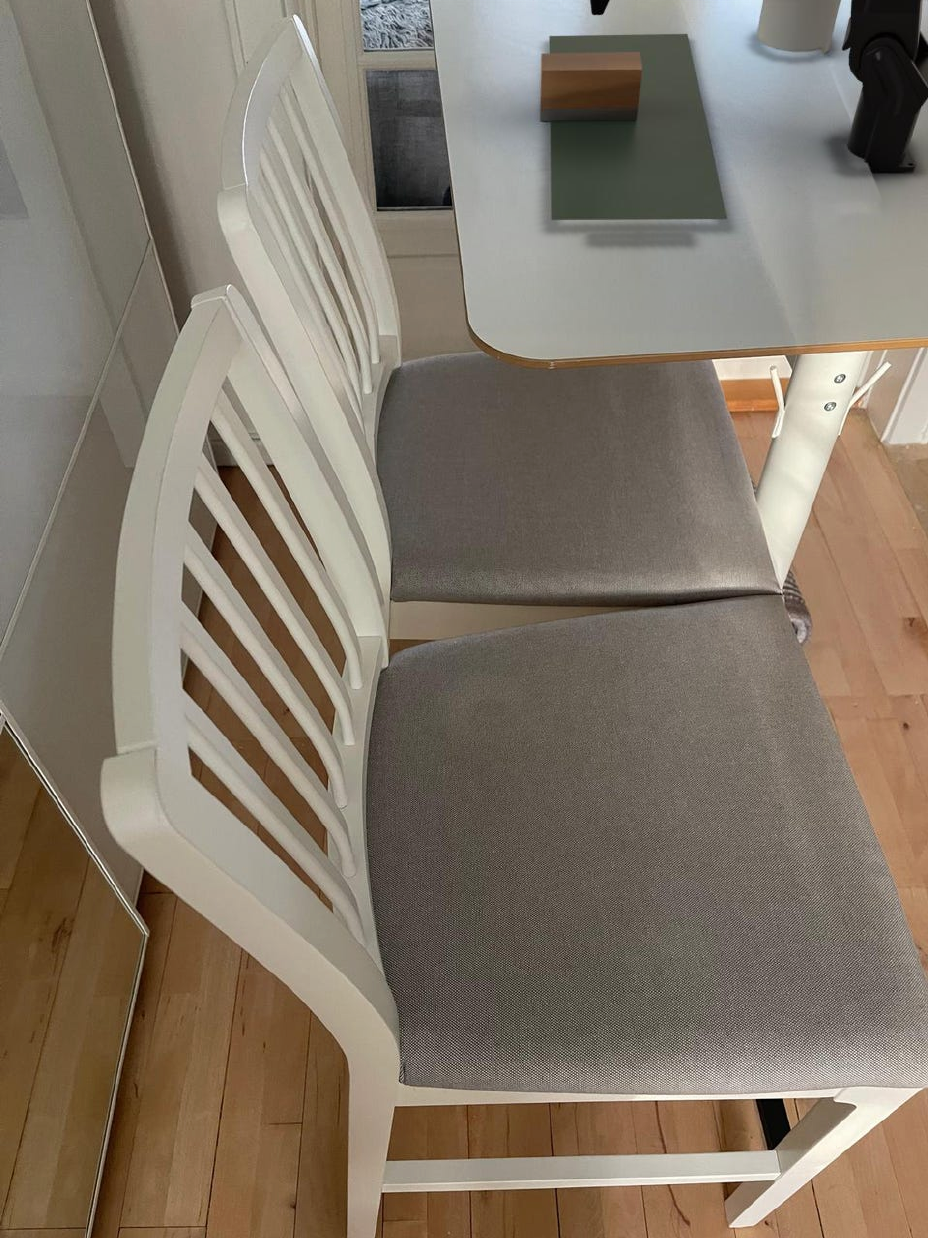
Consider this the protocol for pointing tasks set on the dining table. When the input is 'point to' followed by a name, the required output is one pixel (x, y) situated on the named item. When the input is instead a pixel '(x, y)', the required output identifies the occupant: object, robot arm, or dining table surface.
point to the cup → (798, 24)
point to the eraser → (590, 86)
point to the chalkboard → (638, 142)
